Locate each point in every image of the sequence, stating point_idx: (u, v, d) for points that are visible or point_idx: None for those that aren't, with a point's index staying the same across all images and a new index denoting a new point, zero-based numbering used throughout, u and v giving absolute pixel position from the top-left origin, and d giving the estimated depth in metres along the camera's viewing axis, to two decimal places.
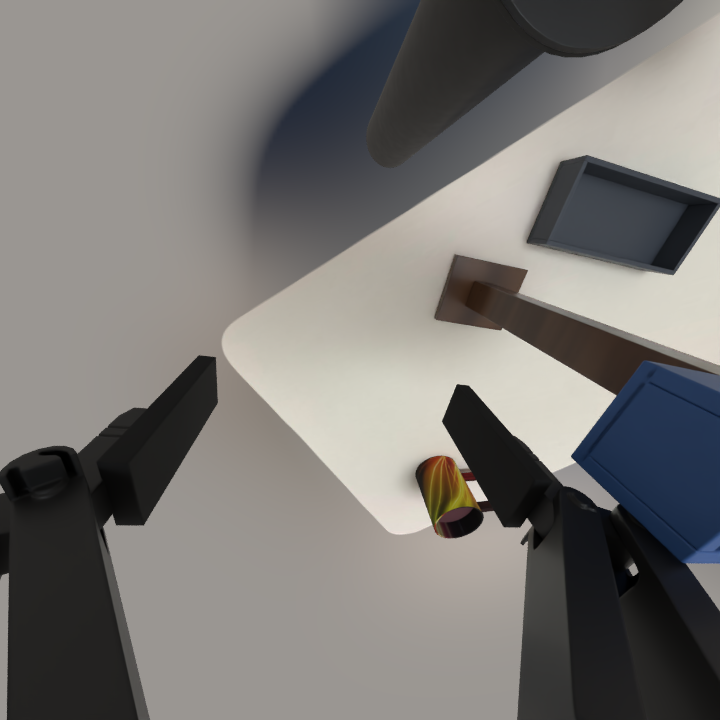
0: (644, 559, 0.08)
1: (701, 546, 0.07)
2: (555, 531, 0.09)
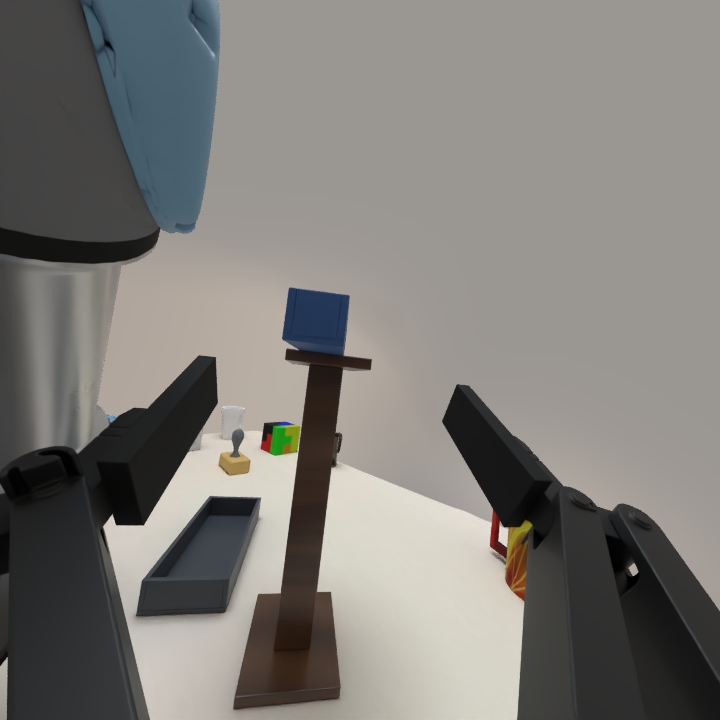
0: (644, 558, 0.08)
1: (339, 295, 0.21)
2: (555, 531, 0.09)
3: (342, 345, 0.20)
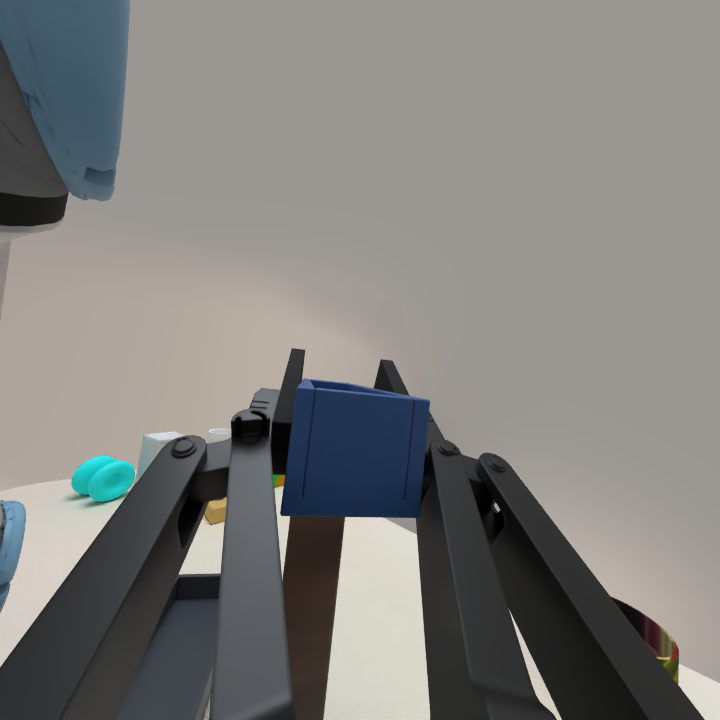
0: (506, 504, 0.09)
1: None
2: (432, 486, 0.09)
3: (417, 515, 0.09)
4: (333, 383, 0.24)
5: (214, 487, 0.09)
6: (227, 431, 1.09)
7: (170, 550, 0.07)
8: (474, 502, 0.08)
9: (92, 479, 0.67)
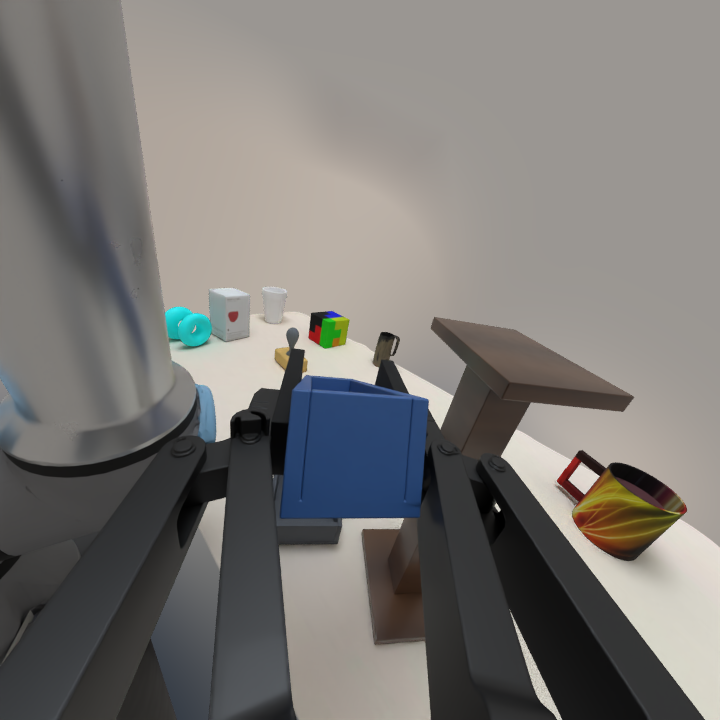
0: (507, 504, 0.09)
1: (407, 399, 0.09)
2: (433, 486, 0.09)
3: (417, 515, 0.09)
4: (335, 379, 0.24)
5: (213, 487, 0.09)
6: (278, 290, 1.10)
7: (169, 550, 0.07)
8: (475, 502, 0.08)
9: (180, 328, 0.74)
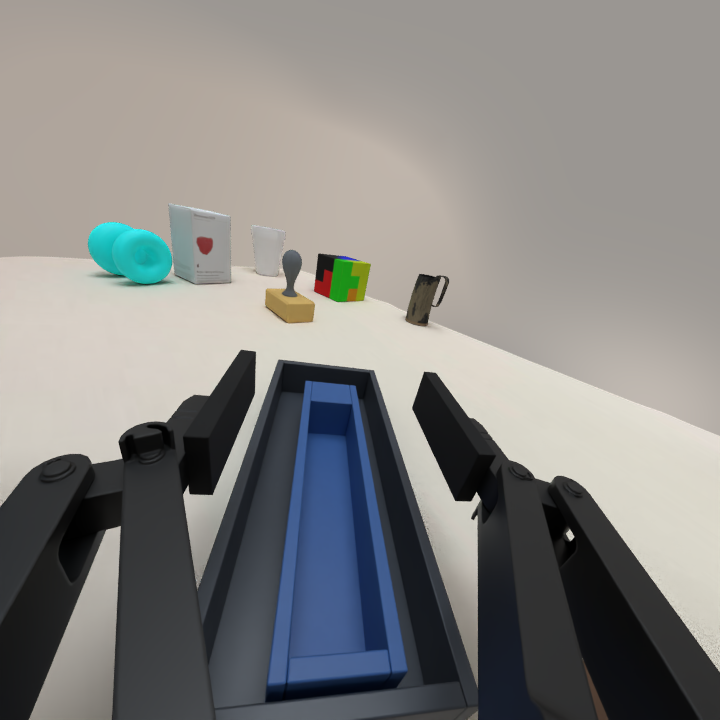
0: (580, 528, 0.08)
1: (386, 669, 0.09)
2: (500, 505, 0.09)
3: None
4: (335, 403, 0.22)
5: (101, 515, 0.07)
6: None
7: (52, 589, 0.06)
8: (547, 531, 0.08)
9: (115, 247, 0.47)
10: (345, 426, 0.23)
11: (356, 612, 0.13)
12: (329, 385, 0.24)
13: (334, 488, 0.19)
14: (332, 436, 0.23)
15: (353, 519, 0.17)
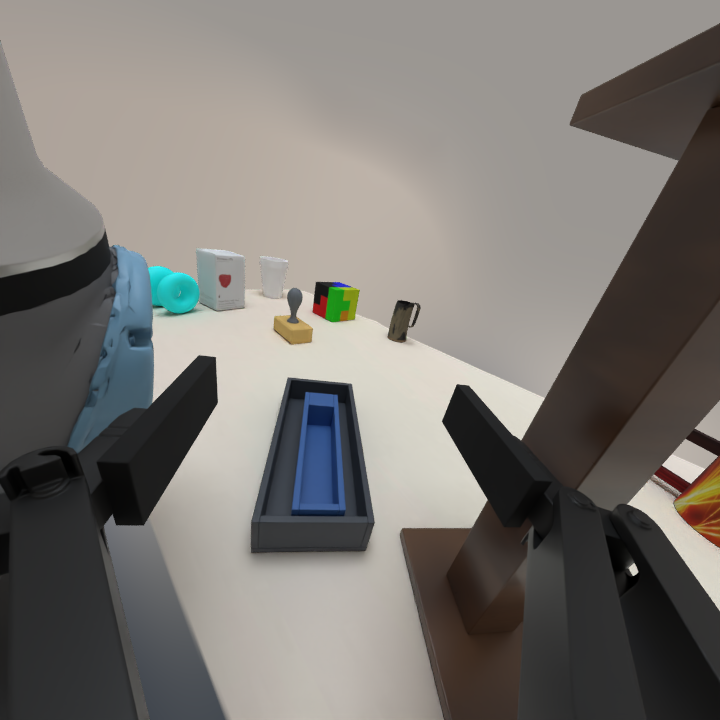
0: (644, 558, 0.08)
1: (337, 509, 0.23)
2: (555, 531, 0.09)
3: None
4: (324, 406, 0.36)
5: None
6: (278, 261, 0.97)
7: None
8: (610, 567, 0.07)
9: (160, 288, 0.62)
10: (330, 420, 0.38)
11: None
12: (320, 394, 0.38)
13: (322, 454, 0.33)
14: (322, 426, 0.38)
15: (331, 469, 0.31)
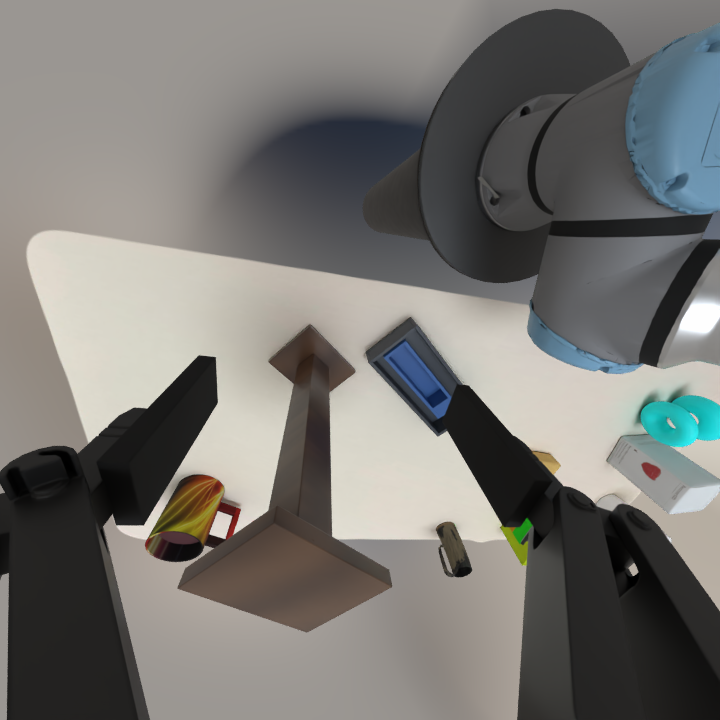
0: (644, 559, 0.08)
1: (387, 355, 0.45)
2: (555, 531, 0.09)
3: None
4: (438, 404, 0.51)
5: None
6: None
7: None
8: (610, 567, 0.07)
9: (684, 412, 0.56)
10: (429, 400, 0.53)
11: (393, 357, 0.49)
12: None
13: (417, 377, 0.52)
14: (431, 394, 0.54)
15: (406, 374, 0.51)
